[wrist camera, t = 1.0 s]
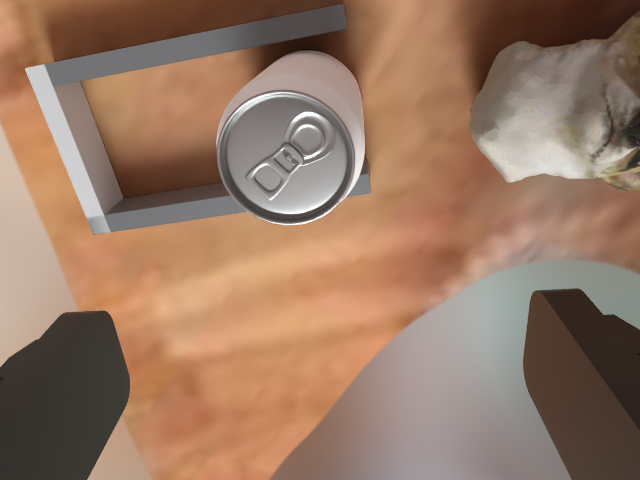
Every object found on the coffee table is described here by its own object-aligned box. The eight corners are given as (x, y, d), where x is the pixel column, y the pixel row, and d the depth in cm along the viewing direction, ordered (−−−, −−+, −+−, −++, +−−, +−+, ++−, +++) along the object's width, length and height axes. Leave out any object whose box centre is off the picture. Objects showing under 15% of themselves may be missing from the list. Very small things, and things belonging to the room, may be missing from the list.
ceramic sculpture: (496, 17, 20) (881, -21, 20) (447, 11, 28) (722, -17, 27) (483, 250, 25) (794, 225, 24) (444, 189, 33) (679, 169, 32)
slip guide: (343, 3, 28) (342, 3, 26) (369, 177, 33) (371, 193, 30) (53, 62, 31) (24, 68, 28) (113, 216, 35) (93, 234, 32)
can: (383, 105, 31) (399, 164, 20) (309, 175, 33) (288, 262, 22) (308, 24, 29) (281, 39, 18) (236, 103, 31) (173, 159, 20)
